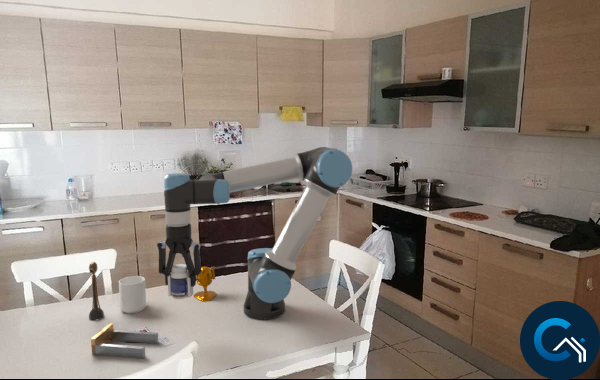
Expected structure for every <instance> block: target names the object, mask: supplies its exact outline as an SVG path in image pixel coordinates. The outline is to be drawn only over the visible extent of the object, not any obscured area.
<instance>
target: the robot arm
mask: <svg viewBox="0 0 600 380" xmlns="http://www.w3.org/2000/svg"><path fill="white" fill-rule="evenodd" d="M352 174H353V164H352V160H351V159H350V157H349V156H348V155H347V154H346V153H345V152H344V151H342V150H340V149H337V148H334V147H333V148H330V147H327V146H320V147H316V148H314V149H310V150H306V151H303V152H298V153H295V154H294V156H293V157H288V158H284V159H278V160H274V161H269V162H265V163H260V164H259V163H258V164H255V165H250V166H245V167H240V168H236V169H230V170H226V171H221V172H216V173H211V172H210V173H206V174H203V175H202V176H201V177H200V179H191V178H190V175H189V174H188V173H182V172H181V173H179V172H174V173H168V174H166V175H165V176H164V179H163V180H164V182H163V187H164V188H163V193H164V195H163V196H164V210H165V212H164V213H165V219H164V220H165V224H166V226H165V236H166V238H165V240H162V241H159V242H157V244H156V245H157V249H158V273H159V275H161V274H163V275H164V280H165V282H164V284H165V285H166V286H167V292H168V293H167V294H168V295H167V296H168V297H172V290H171V274H172V273H173V271H172V267H173V266H174V262H175V259H176V255H177V254H180V255H181V256H182V258H183V260H184V264H186V266H187V269H188V270H187V271H188V272H189V275H190V276H188V277H187V283H188V297H187V298H192V297H193V296H194V294H195V293H194V287H195V286H196V284H197V281H196V279H197V276H198V275H199V274H200V273H201V272H202V270H201V267H202V259H201V248H202V243H201V242H198V243H197V242H195V241H194V240H193V238H192V224H191V222H192V218H191V217H192V215H191V214H192V213H191V205H220V204H228V203H229V201H230V193H236V192H239V191H244V190H249V189H255V188H259V187H263V186H269V185H272V184H273V185H274V184H278V183H283V182H287V181H292V180H296V179H297V180H299V181H304V184H305V186H304V189H303V190H302V192H301V193H300V196H299V198H298V200H297V202H296V204H295V205H294V207H293V208H292V211H291V213H290V215H289V217H288V219H287V220H286V223H284V226H283V228H282V230H281V232H280V234H279V236H278V237H277V239H276V242H275V243H274V245H273V247H272V248H271V247H270V248H269V247H263V248H262V247H261V248H255V249H251V250H249V251H248V253H247V258H246V259H247V289H248V290H247V294H246V296H245V297H246V298H245V301H244V302H243V303H244V304H243V314H244V315H245V316H246V317H248V318H251V319H255V320H272V319H277V318H278V317H281V316H283V315H284V314H285V312H286V303H285V299H287V297H288V296H289V294H290V292H291V290H292V289H291V288H292V281H291V280H292V279H293V277H294V275H295V272H296V271H297V265H296V261H297V259H298V257H299V256H300V253H301V251H302V250H303V247H304V245H305V244H306V242H307V240H308V239H309V236H310V234H311V233H312V231H313V229H314V227H315V225H316V223H317V221H318V219H319V218H320V216H321V214H322V212H323V209H325V206H326V205H327V204H328V203H327V202H328V200H329V199H330V198H333V197H335V196H336V195H337V193H338V192H339V190H340V189H341V187H342V186H344V185H345V184H347V183H348V182H349V181H350V180H351V177H352ZM191 247H192V250H193V251H192V252H193V259H192V255H191V251H190V248H191ZM167 248H168V249H169V251H168V258H167V254H166V253H167ZM166 258H167V259H166Z"/></svg>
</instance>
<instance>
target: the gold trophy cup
mask: <svg viewBox="0 0 600 380" xmlns="http://www.w3.org/2000/svg"><path fill="white" fill-rule="evenodd" d="M215 268H216V267H215V266H211V268H210V267H209V266H205V265H204V266H201V270H202V272H201V273H200V274H199V275H198V276H196V284H197V285H199V286H200V287H202V288H203V291H202V290H201V291H198V292H196V293H194V294H193V298H195V299H196V300H199V301H200V302H204V303H206V302H210V301H212V300H213V299H214V298H215V297H216V295H217V294H216V292H215V291H214V290H208V286H210V285H211V284H212V283H213V280H216V275H215Z"/></svg>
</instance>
